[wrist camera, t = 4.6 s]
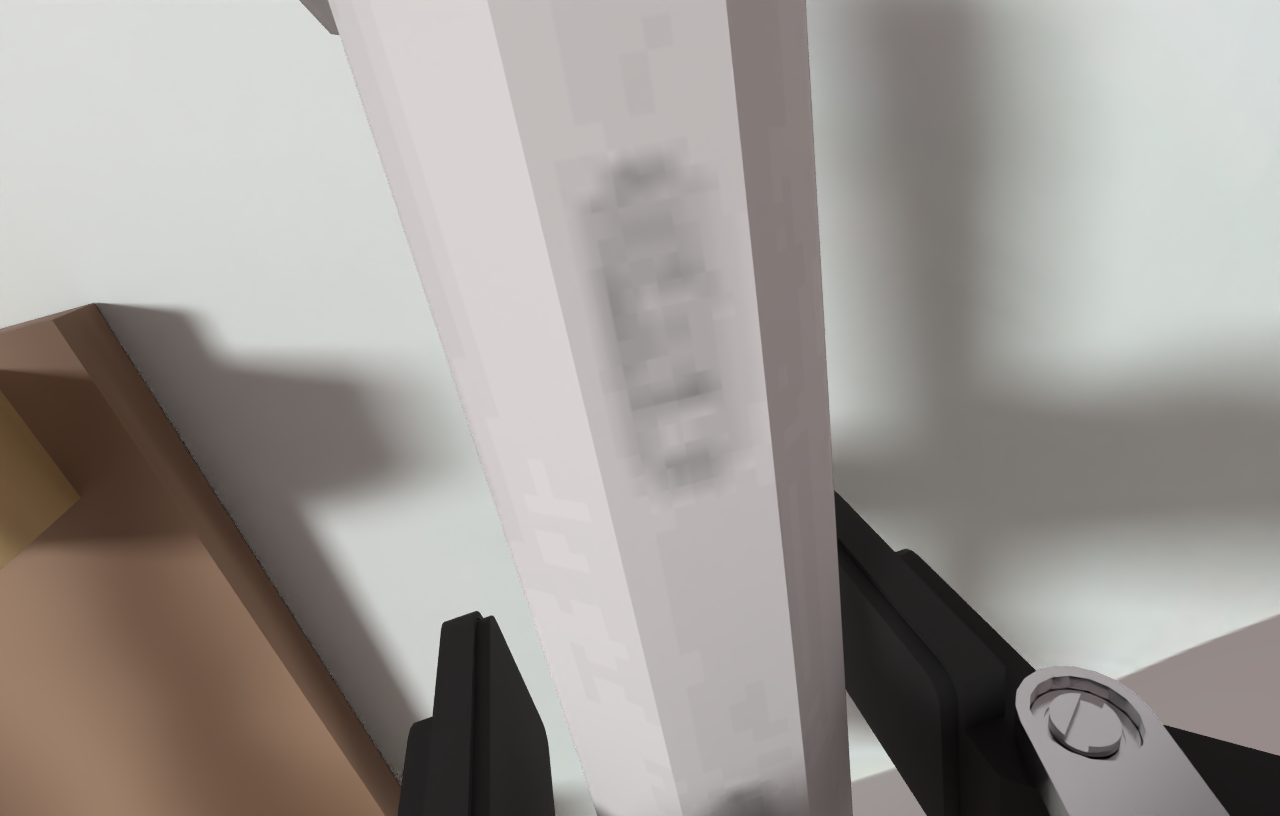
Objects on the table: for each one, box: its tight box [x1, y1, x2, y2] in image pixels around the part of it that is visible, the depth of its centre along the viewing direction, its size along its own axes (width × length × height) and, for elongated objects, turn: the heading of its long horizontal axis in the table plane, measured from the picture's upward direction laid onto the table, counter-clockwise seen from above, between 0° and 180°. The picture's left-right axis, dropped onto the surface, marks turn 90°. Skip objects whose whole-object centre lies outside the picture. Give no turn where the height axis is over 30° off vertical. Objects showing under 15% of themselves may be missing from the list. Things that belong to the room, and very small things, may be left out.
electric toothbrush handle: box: [300, 0, 853, 816], centre depth 9 cm, size 5×7×25 cm
